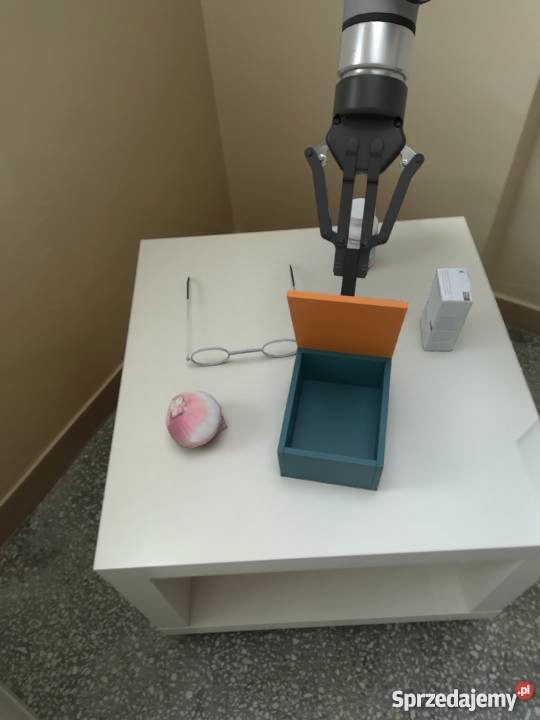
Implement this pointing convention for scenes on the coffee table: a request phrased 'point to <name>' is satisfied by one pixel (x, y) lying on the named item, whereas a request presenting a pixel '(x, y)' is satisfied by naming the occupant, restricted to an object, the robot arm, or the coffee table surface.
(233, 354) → the eyeglasses
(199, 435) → the onion
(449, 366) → the coffee table surface
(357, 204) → the pill bottle
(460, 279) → the cosmetic box
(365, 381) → the box
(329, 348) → the lid
